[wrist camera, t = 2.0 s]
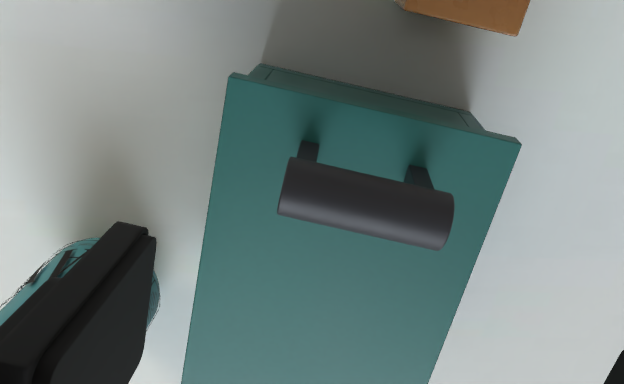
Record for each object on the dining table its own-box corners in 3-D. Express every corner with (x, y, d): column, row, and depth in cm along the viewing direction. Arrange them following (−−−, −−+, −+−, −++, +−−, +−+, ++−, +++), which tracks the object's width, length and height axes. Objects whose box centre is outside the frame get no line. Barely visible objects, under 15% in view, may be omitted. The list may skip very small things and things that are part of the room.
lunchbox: (259, 62, 26) (230, 92, 20) (470, 111, 26) (508, 157, 20) (219, 292, 31) (185, 373, 25) (395, 332, 32) (405, 422, 25)
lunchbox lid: (232, 71, 19) (191, 108, 14) (516, 137, 20) (572, 195, 15) (185, 374, 25) (144, 475, 20) (405, 423, 25) (418, 534, 20)
